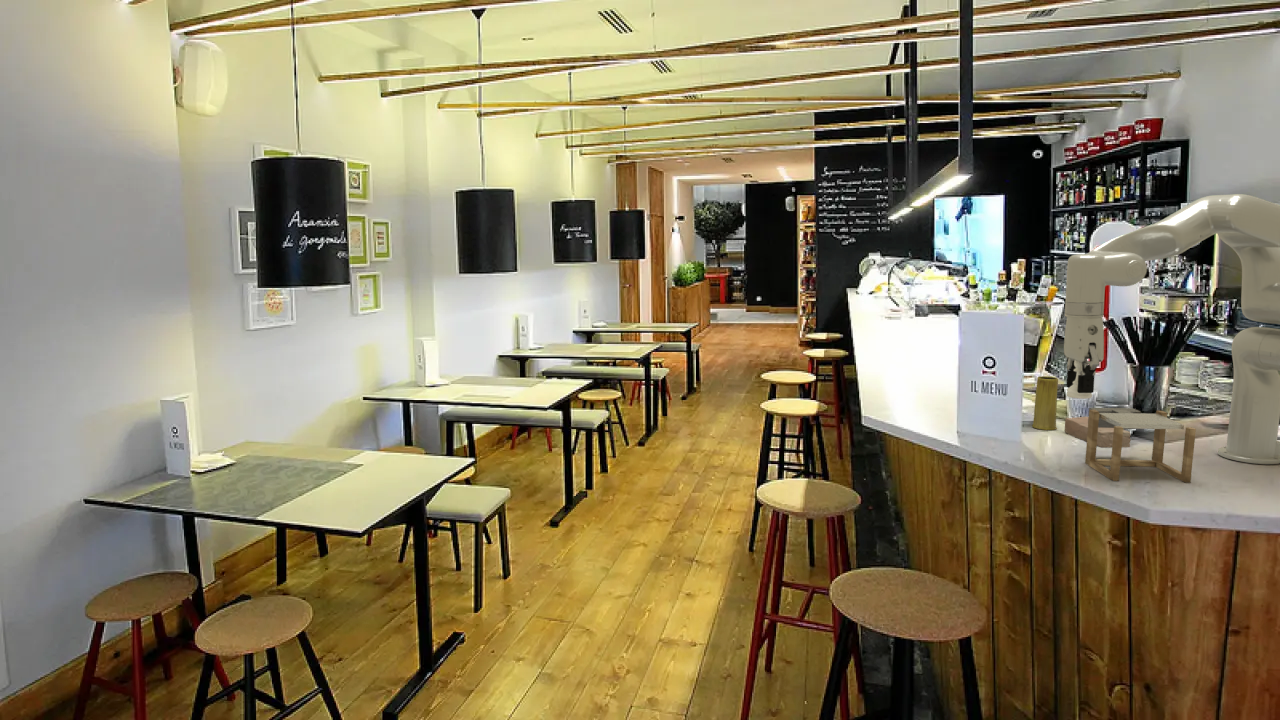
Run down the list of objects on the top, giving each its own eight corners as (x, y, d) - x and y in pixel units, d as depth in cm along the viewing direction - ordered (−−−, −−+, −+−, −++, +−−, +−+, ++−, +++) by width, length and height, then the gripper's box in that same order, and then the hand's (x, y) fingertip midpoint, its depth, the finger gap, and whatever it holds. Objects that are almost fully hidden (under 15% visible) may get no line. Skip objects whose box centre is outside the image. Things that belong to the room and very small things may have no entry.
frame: (1156, 464, 188) (1161, 410, 186) (1190, 482, 175) (1196, 424, 173) (1085, 463, 190) (1089, 409, 188) (1113, 480, 176) (1117, 423, 174)
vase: (1057, 426, 226) (1061, 377, 224) (1055, 431, 221) (1058, 380, 218) (1033, 424, 229) (1036, 375, 227) (1030, 428, 224) (1034, 378, 222)
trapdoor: (1081, 423, 196) (1082, 405, 195) (1137, 424, 194) (1139, 406, 194) (1119, 443, 177) (1121, 423, 176) (1182, 444, 175) (1184, 424, 175)
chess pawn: (1095, 396, 181) (1097, 357, 179) (1086, 399, 178) (1089, 359, 176) (1071, 393, 185) (1074, 355, 183) (1062, 396, 181) (1065, 357, 180)
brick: (1132, 448, 204) (1133, 430, 204) (1100, 448, 204) (1102, 430, 203) (1091, 432, 221) (1092, 416, 220) (1062, 433, 220) (1063, 416, 219)
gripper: (1120, 313, 169) (1115, 397, 172) (1085, 306, 186) (1080, 382, 189) (1083, 314, 170) (1078, 398, 173) (1051, 306, 187) (1047, 383, 190)
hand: (1079, 389), depth 181 cm, fingers closed on chess pawn, 5 cm apart
